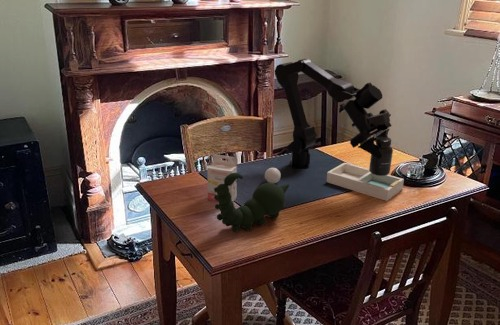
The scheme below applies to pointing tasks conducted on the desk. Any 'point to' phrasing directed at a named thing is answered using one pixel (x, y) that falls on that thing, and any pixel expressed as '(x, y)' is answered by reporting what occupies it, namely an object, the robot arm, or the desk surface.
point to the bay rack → (365, 181)
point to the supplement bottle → (384, 163)
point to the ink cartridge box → (221, 175)
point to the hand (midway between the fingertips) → (385, 155)
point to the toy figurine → (249, 204)
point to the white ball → (272, 175)
